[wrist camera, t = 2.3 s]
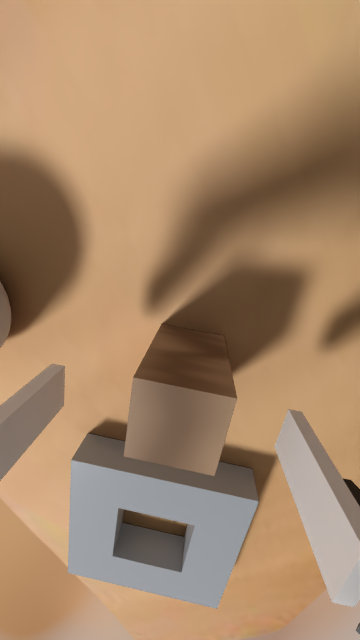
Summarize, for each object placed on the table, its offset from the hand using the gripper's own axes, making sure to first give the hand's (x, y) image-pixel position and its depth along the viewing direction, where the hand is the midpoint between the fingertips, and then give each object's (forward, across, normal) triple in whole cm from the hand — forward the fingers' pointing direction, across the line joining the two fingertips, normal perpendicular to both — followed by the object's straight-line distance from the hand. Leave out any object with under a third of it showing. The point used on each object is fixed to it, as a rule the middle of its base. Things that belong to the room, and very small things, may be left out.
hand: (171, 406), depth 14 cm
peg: (+6, +1, 0) cm, 6 cm away
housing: (+6, +1, -18) cm, 19 cm away
